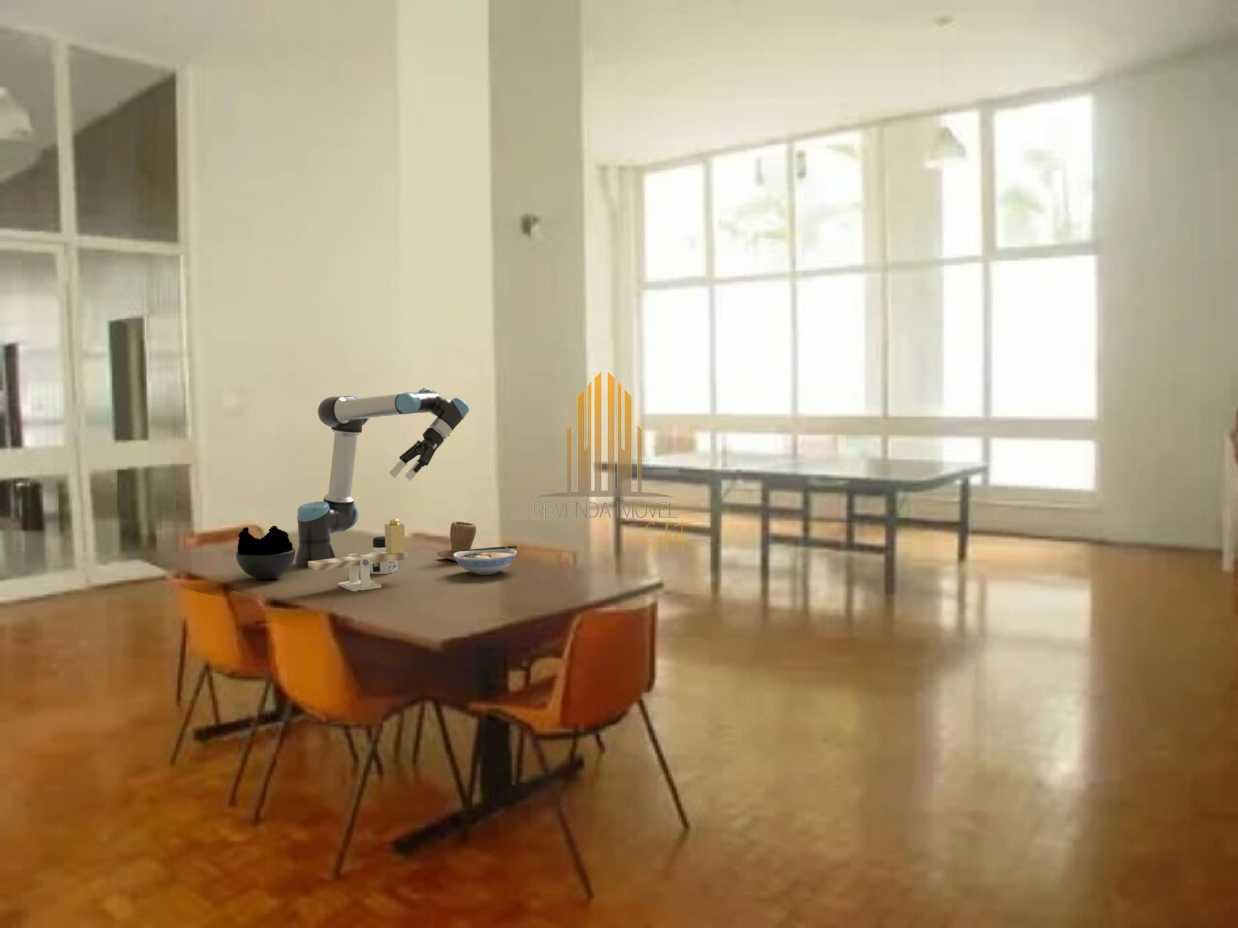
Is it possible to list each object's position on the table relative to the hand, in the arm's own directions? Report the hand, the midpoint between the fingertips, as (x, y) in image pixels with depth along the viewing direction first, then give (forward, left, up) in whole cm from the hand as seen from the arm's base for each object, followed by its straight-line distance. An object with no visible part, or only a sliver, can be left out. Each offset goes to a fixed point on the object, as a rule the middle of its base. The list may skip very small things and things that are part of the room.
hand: (399, 476), depth 359 cm
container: (-7, -5, -35) cm, 36 cm away
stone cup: (-11, +28, -35) cm, 46 cm away
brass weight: (+13, -8, -25) cm, 30 cm away
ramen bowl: (+21, +22, -35) cm, 47 cm away
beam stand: (+13, -22, -35) cm, 43 cm away
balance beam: (+13, -22, -26) cm, 36 cm away
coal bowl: (-23, -42, -35) cm, 59 cm away
